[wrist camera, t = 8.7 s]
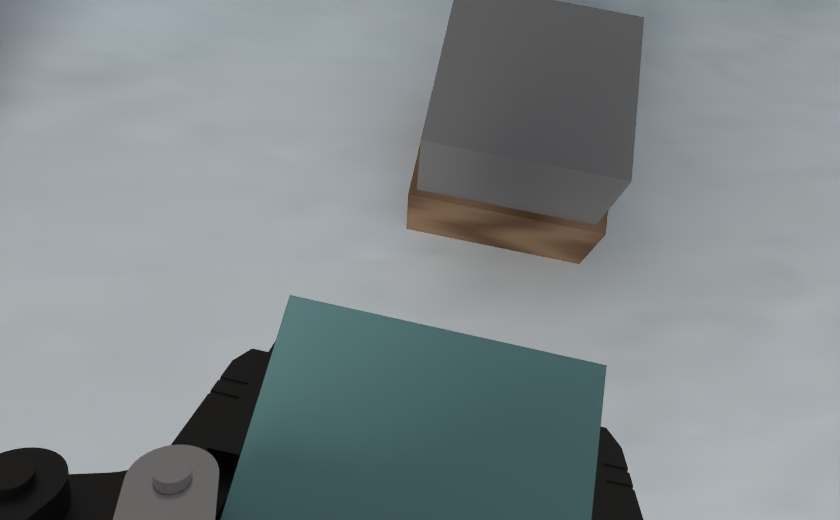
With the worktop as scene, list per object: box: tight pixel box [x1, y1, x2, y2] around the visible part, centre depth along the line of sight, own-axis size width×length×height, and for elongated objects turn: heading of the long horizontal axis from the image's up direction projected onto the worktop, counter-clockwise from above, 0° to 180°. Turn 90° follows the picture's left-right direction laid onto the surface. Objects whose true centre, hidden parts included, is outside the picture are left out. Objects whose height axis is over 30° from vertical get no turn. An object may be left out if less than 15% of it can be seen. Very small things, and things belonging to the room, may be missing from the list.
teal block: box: [221, 295, 606, 520], centre depth 12 cm, size 5×5×8 cm
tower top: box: [417, 0, 644, 225], centre depth 31 cm, size 10×10×5 cm
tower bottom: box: [407, 143, 608, 264], centre depth 35 cm, size 11×11×5 cm
